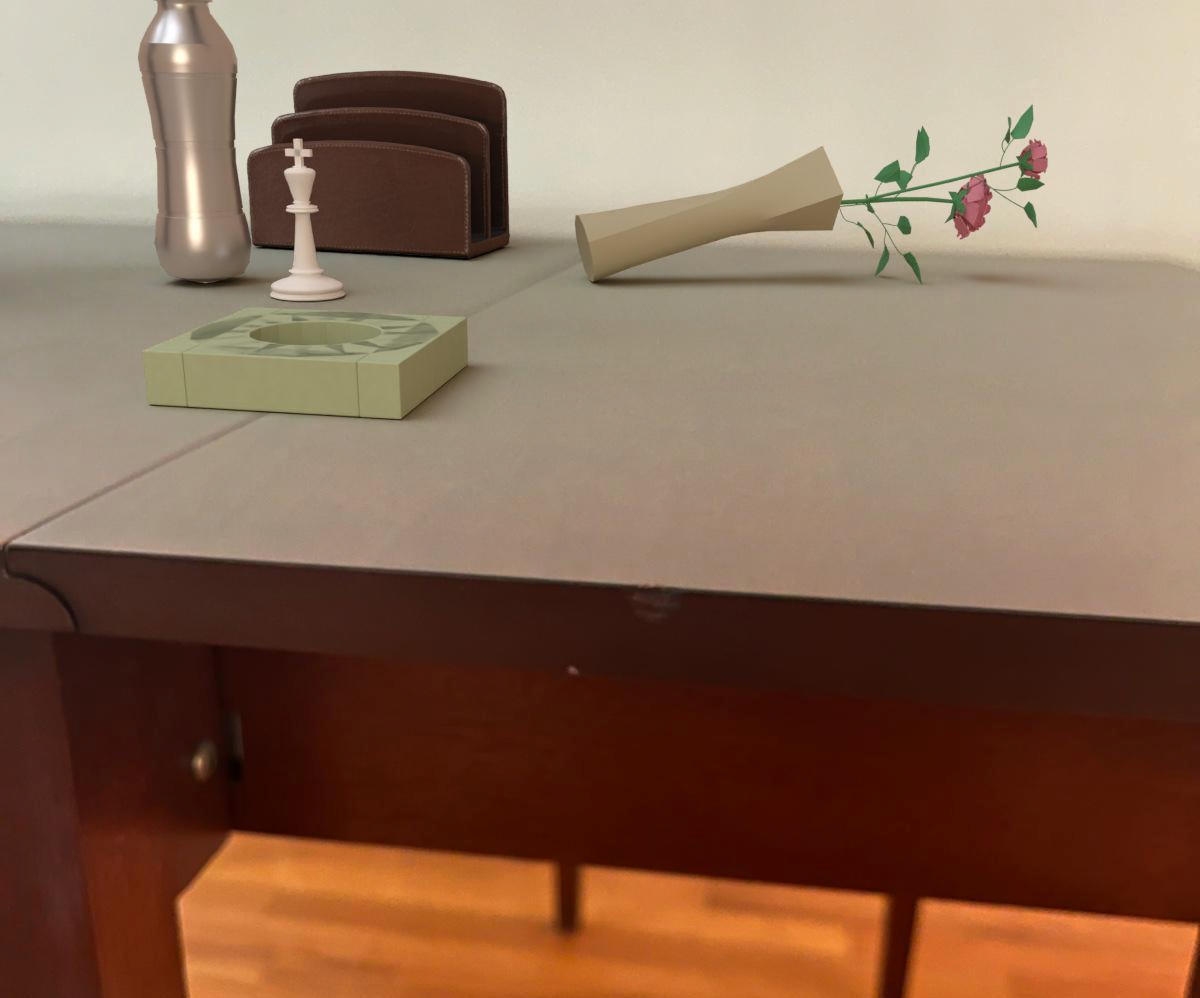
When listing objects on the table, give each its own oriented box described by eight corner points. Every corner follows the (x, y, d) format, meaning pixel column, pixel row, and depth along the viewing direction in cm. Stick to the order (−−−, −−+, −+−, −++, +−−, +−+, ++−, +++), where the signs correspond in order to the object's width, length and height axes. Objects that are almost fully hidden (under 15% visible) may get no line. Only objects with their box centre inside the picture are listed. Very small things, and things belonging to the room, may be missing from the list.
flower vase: (601, 371, 103) (1013, 265, 108) (627, 355, 91) (1089, 236, 95) (563, 221, 102) (981, 120, 106) (584, 185, 90) (1054, 72, 94)
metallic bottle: (138, 283, 93) (103, -32, 85) (204, 271, 98) (177, -25, 91) (210, 291, 90) (181, -33, 83) (274, 278, 96) (252, -26, 88)
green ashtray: (147, 404, 60) (141, 350, 59) (252, 353, 71) (248, 306, 70) (401, 419, 59) (399, 363, 58) (468, 364, 70) (467, 316, 69)
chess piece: (329, 302, 87) (319, 141, 83) (258, 299, 87) (245, 139, 84) (355, 291, 91) (347, 138, 87) (287, 288, 92) (276, 136, 88)
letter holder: (306, 235, 120) (295, 68, 115) (511, 246, 116) (510, 72, 110) (250, 247, 112) (236, 67, 106) (470, 260, 107) (467, 72, 101)
